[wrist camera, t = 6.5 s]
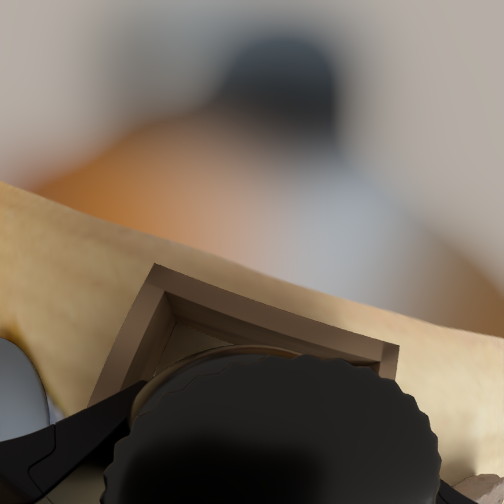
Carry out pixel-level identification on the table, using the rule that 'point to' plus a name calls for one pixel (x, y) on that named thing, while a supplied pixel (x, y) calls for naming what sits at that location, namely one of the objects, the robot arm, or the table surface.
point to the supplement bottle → (272, 434)
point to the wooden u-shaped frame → (223, 330)
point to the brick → (482, 488)
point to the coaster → (20, 394)
